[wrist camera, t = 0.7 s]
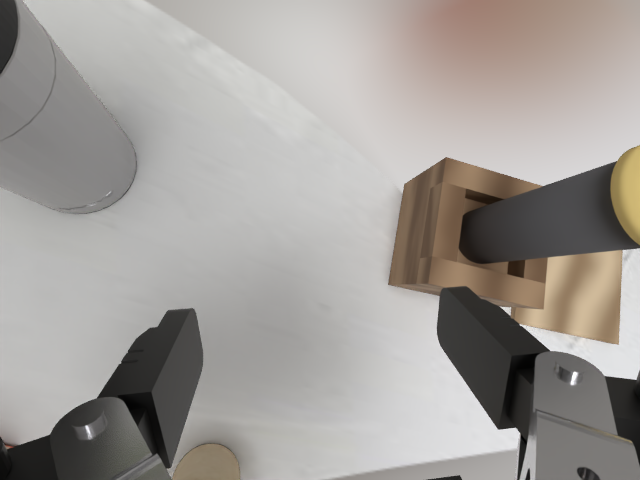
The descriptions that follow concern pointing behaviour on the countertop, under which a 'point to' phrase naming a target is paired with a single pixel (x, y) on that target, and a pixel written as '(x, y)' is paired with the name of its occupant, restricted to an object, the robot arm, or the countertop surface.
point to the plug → (560, 217)
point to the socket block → (444, 234)
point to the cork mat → (580, 297)
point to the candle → (208, 464)
